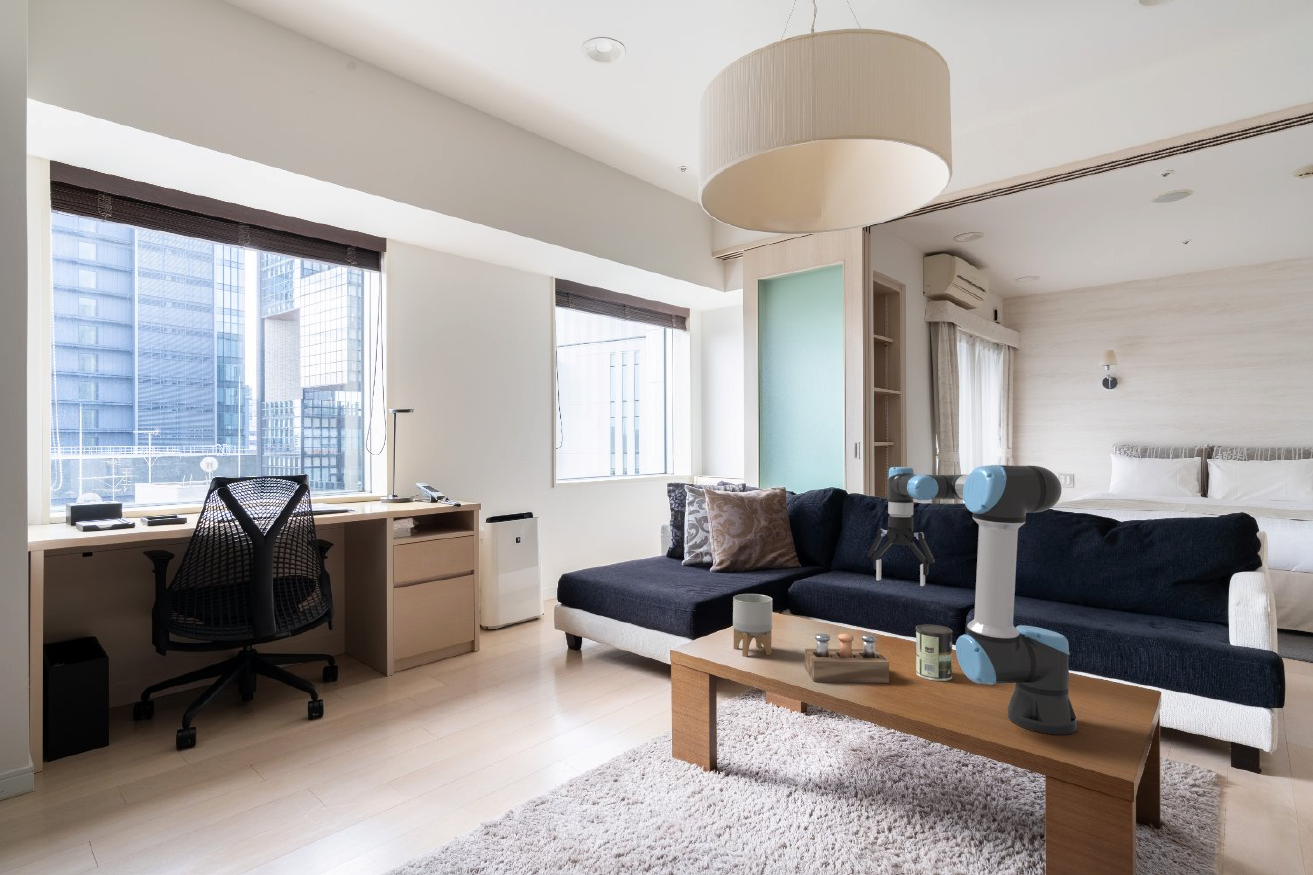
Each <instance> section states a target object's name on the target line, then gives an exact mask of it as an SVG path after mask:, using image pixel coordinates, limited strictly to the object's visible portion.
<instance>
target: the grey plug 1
mask: <svg viewBox="0 0 1313 875" xmlns="http://www.w3.org/2000/svg"><path fill="white" fill-rule="evenodd" d="M814 639H815V640H816V649H817V657H827V658H828V649H829V641H831V635H830V634H827V633H816V634H814Z"/></svg>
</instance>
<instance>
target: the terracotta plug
mask: <svg viewBox="0 0 1313 875" xmlns="http://www.w3.org/2000/svg"><path fill="white" fill-rule="evenodd" d="M854 639H855V638H854V635H852V634H849V633H839V634H838V637H837V640H839V649H840V658H852V649H853V641H854Z"/></svg>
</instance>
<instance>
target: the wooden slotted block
mask: <svg viewBox="0 0 1313 875" xmlns="http://www.w3.org/2000/svg"><path fill="white" fill-rule="evenodd" d="M804 670H805V671H806V673H807V674H808V676H809V677H810V678H811V680H812V681H813V682H814V683H888V684H889V683H890V661H888V659H887V658H886V657H884V656H883V654H881V653H880V652H879V651H878V650H877V649H876V648H875V658H863V648H859V649H858V648H852V658H840V648H828V658H827V657H817V648H804Z"/></svg>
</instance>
